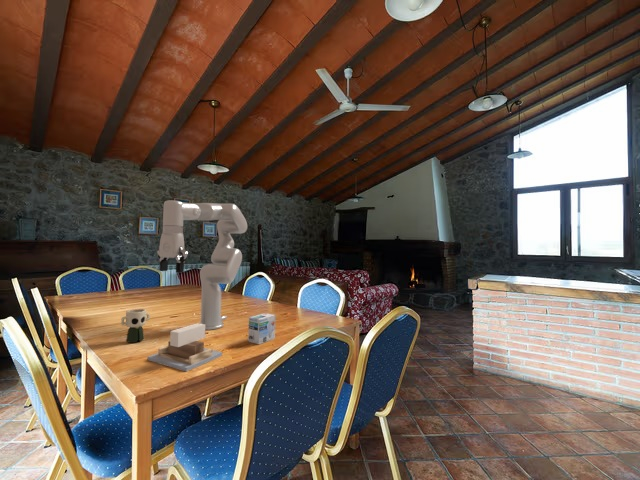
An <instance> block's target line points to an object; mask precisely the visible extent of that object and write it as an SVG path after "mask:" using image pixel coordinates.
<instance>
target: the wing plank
mask: <svg viewBox="0 0 640 480" xmlns="http://www.w3.org/2000/svg"><path fill="white" fill-rule="evenodd" d="M199 323H200V322H199ZM199 323H197V322H196V323H194V324H190V325H188V326H187V325H186V326H184V327H180V328H177V329H173V330H170V333H169V334H170V340H169V341H170V345H171V346H175V347H180V346H183V345H186V344H189V343H191V342H194V341H199V340H200V341H201V340H202V339H206V330H205V324H199Z"/></svg>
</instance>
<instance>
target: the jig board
mask: <svg viewBox="0 0 640 480" xmlns="http://www.w3.org/2000/svg"><path fill="white" fill-rule="evenodd" d="M208 349H209V348H206V347H204V351H205V350H208ZM222 356H223V352H222V351H219V350H218V351H217V350H214V349H213V355H212V356H211V357H209V358H207V359H204V360H202V361H200V362H197V363H195V364H193V365H189V364H186V363H182V362H178V361H175V360H171V359H168V358H164V357H161V356H158V352H157V353H154V354H151V355H148V356H147V361H150V362H153V363H156V364H160V365H164V366H167V367H170V368H174V369H177V370H180V371H183V372H189V371H191V370H194V369H196V368H198V367H200V366H202V365H205V364H206V363H210V362H211V361H213V360H216V359H218V358H220V357H222ZM183 359H184V358H183ZM187 360H189V359H187Z"/></svg>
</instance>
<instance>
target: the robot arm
mask: <svg viewBox="0 0 640 480" xmlns="http://www.w3.org/2000/svg"><path fill="white" fill-rule="evenodd" d="M162 211H163V212H162V213H163V218H162V233H161V236H160V239H159V247H158V248H159V249H158V250H157V251H156V253H157V258H158V261H159V272H168V270H169V268H168V267H169V261H168V259H174V258H175V260H176V263H175V273H176V274H177V273H184V271H185V262H186V260H187V257H188V255H189V252H188V251H187V250H186V249H185V239H184V237H185V236H184V221H217V223H216V229H217V233H218V242H217V245H216V246H215V248H214V249H213V251H212V254H211V256H210V261H211V263H208V264H205V265H203V266H202V267H201V269H200V271H199V277H200V285H201V294H200V295H201V296H200V297H201V299H200V301H201V302H200V322H199V324H205V331H208V330H209V331H211V330H218V329H220V328H222V327H224V322H223V321H224V320H227V318H228V316H227V314H226V315H223V316H222V315H221V313H222V289H221V286H220V284H222V285H223V284H225V285H229V284H232V283H233V281H234V280H235V279H236V276H237V274H238V272H239V269H240V267H241V263H242V262H243V254H242V252H241V250H240V249H239V248H237V247H236V248H235V247H234V246H235V241H234V239H233V237H232V235H231V234H240V235H241V234H244V233H245V232H247V230H248V223H247V220H246V218H245V216H244V214H243V213H242V211H241V209H240V208H239V207H238V206H237V204H235V203H217V202H216V203H215V202H214V203H212V202H198V203H197V202H196V203H194V202H182V201H180V200H171V199H170V200H169V199H168V200H165V201H164V202H163V210H162Z"/></svg>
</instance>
